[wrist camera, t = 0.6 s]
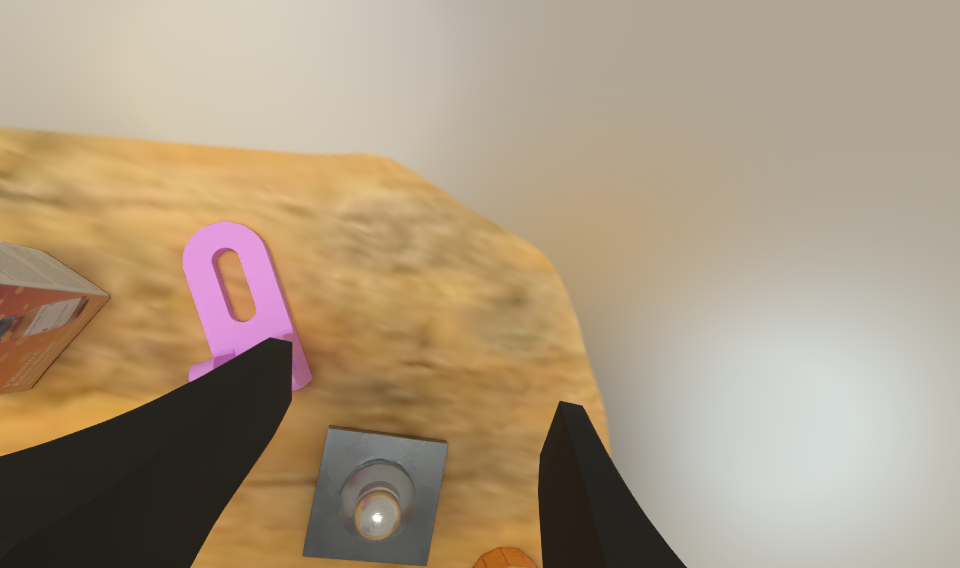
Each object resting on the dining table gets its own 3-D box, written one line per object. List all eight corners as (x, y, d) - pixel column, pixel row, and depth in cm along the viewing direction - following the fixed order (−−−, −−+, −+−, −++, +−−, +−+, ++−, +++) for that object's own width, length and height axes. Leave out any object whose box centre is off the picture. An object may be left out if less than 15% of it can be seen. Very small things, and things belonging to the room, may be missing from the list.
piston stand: (425, 559, 37) (433, 601, 31) (304, 549, 35) (290, 592, 30) (446, 440, 38) (457, 461, 32) (329, 425, 36) (320, 443, 31)
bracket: (313, 378, 36) (297, 392, 29) (237, 406, 35) (202, 426, 28) (257, 217, 36) (229, 192, 29) (179, 238, 35) (132, 218, 28)
